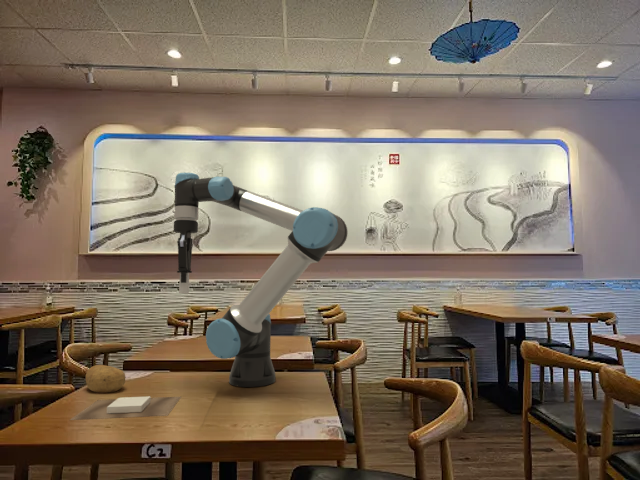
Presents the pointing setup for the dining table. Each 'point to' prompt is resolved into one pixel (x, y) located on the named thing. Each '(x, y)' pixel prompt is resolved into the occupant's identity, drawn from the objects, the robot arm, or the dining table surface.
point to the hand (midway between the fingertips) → (183, 293)
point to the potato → (104, 379)
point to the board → (154, 408)
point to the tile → (128, 404)
